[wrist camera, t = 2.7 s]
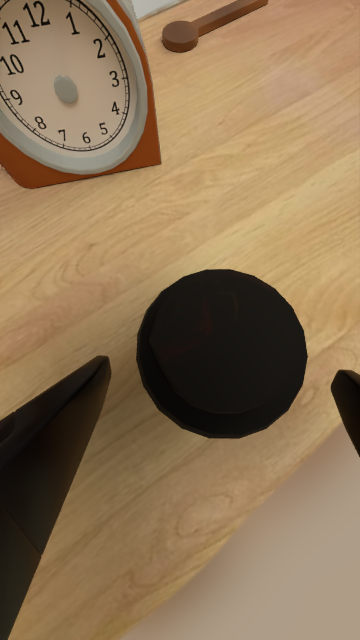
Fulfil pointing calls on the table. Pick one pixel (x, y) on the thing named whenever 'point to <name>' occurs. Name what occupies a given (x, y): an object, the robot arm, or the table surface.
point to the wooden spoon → (205, 24)
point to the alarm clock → (74, 91)
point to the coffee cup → (221, 353)
